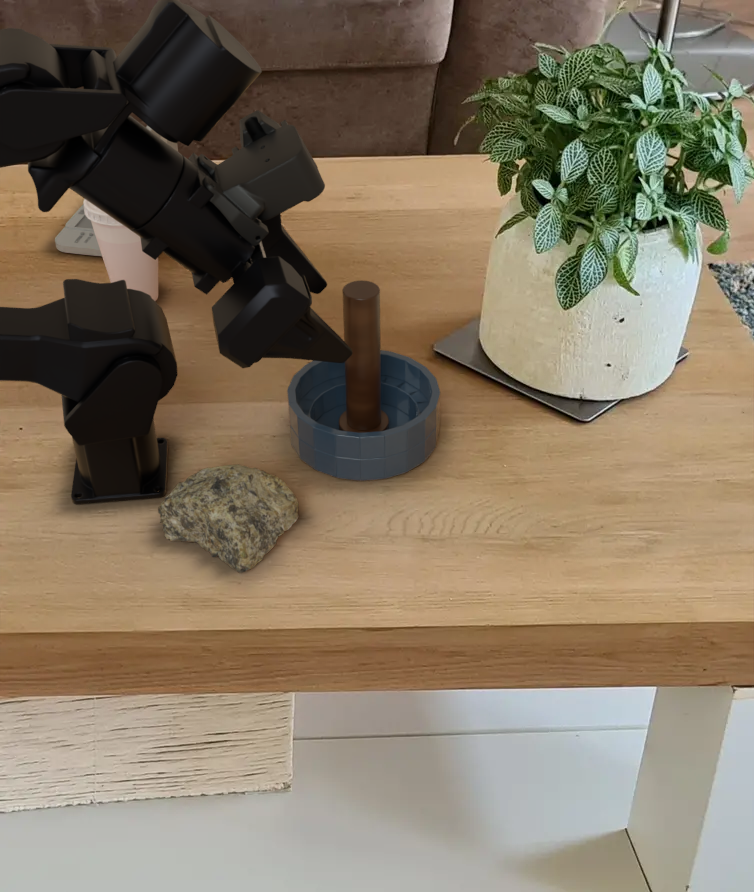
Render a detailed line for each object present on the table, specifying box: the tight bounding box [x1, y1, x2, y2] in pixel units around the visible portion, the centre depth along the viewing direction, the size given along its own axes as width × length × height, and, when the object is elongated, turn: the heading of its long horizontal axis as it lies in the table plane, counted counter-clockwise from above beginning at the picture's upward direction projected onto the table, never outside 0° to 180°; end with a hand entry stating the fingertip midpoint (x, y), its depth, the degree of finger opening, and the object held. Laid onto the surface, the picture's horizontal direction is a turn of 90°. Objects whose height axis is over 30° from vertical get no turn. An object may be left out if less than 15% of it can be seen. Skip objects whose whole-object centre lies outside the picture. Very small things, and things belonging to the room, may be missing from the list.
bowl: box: [286, 349, 441, 482], centre depth 88 cm, size 11×11×4 cm
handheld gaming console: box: [54, 124, 179, 257], centre depth 112 cm, size 13×9×10 cm
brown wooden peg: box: [339, 279, 389, 433], centre depth 85 cm, size 4×4×13 cm
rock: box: [157, 463, 299, 574], centre depth 79 cm, size 7×8×4 cm
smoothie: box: [82, 198, 159, 302], centre depth 100 cm, size 6×6×14 cm
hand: (335, 321), depth 82 cm, fingers open, 9 cm apart
